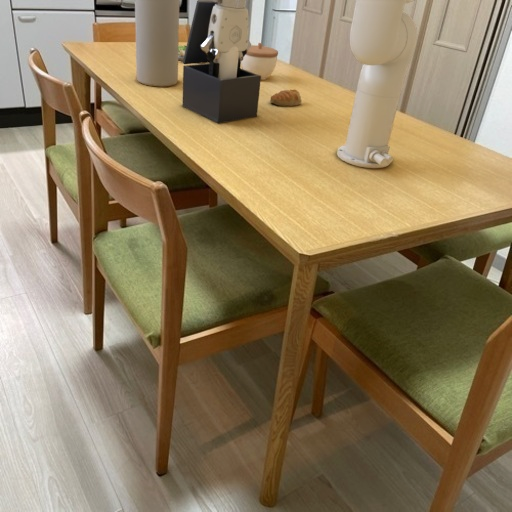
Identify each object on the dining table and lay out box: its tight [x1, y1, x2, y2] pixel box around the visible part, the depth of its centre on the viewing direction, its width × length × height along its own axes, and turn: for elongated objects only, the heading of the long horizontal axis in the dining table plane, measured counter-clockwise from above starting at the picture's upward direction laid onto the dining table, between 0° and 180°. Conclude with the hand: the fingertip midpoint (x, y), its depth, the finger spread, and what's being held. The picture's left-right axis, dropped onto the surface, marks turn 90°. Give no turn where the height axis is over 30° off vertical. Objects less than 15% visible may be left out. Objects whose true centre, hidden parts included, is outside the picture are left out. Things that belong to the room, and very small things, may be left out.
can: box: [214, 43, 239, 79], centre depth 134 cm, size 6×6×12 cm
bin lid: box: [182, 0, 215, 65], centre depth 135 cm, size 16×14×5 cm
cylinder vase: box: [134, 0, 180, 88], centre depth 154 cm, size 12×12×25 cm
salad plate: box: [178, 45, 187, 62], centre depth 191 cm, size 19×18×5 cm
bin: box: [181, 62, 262, 124], centre depth 138 cm, size 16×14×11 cm
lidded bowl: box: [240, 42, 279, 81], centre depth 175 cm, size 13×13×11 cm
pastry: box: [269, 89, 302, 107], centre depth 153 cm, size 9×7×4 cm
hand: (224, 75), depth 135 cm, fingers closed on can, 6 cm apart
